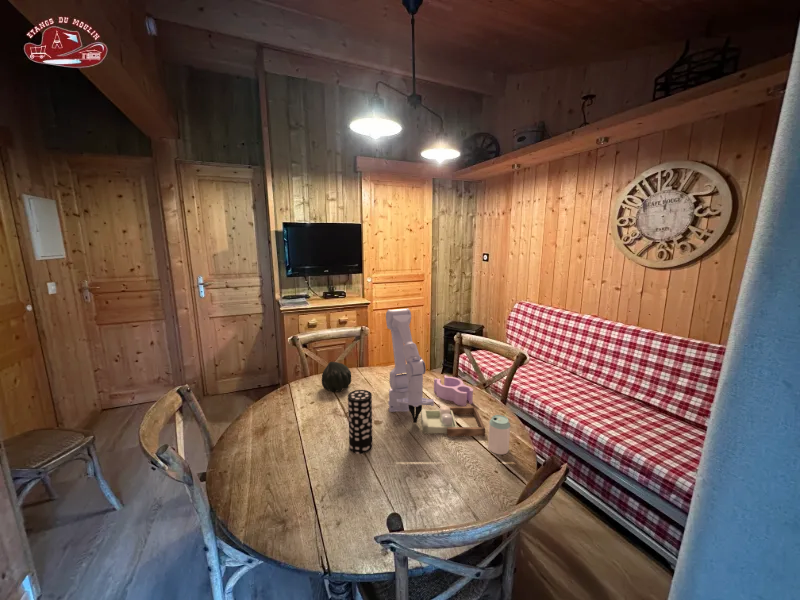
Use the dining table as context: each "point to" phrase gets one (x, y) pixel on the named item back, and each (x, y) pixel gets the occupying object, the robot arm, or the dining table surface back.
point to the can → (499, 434)
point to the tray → (434, 421)
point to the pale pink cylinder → (444, 411)
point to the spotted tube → (360, 421)
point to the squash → (336, 377)
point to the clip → (453, 390)
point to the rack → (467, 430)
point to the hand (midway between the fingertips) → (415, 421)
